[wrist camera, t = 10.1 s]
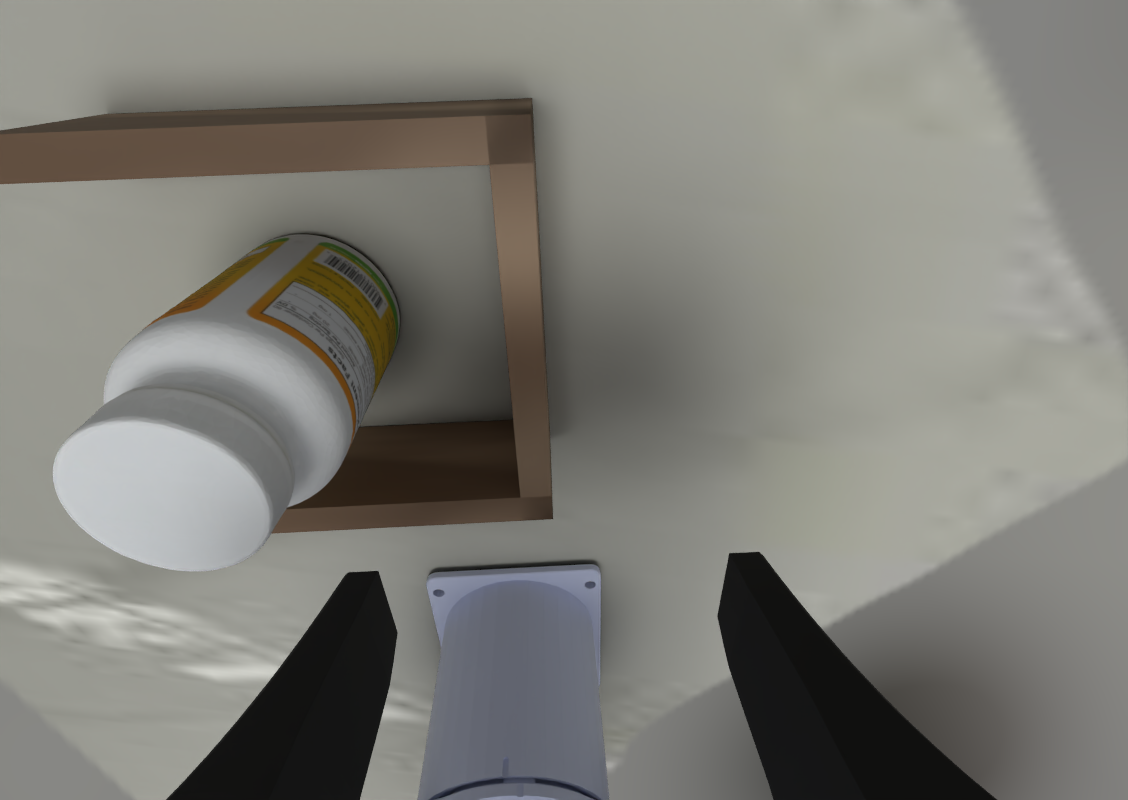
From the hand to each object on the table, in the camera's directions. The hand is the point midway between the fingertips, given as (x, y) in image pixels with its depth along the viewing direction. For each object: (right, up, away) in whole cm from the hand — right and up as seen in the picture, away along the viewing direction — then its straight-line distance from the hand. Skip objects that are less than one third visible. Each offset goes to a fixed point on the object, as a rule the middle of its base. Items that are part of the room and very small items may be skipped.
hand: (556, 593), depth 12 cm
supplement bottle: (-8, +7, +8) cm, 13 cm away
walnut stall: (-6, +7, +7) cm, 12 cm away
